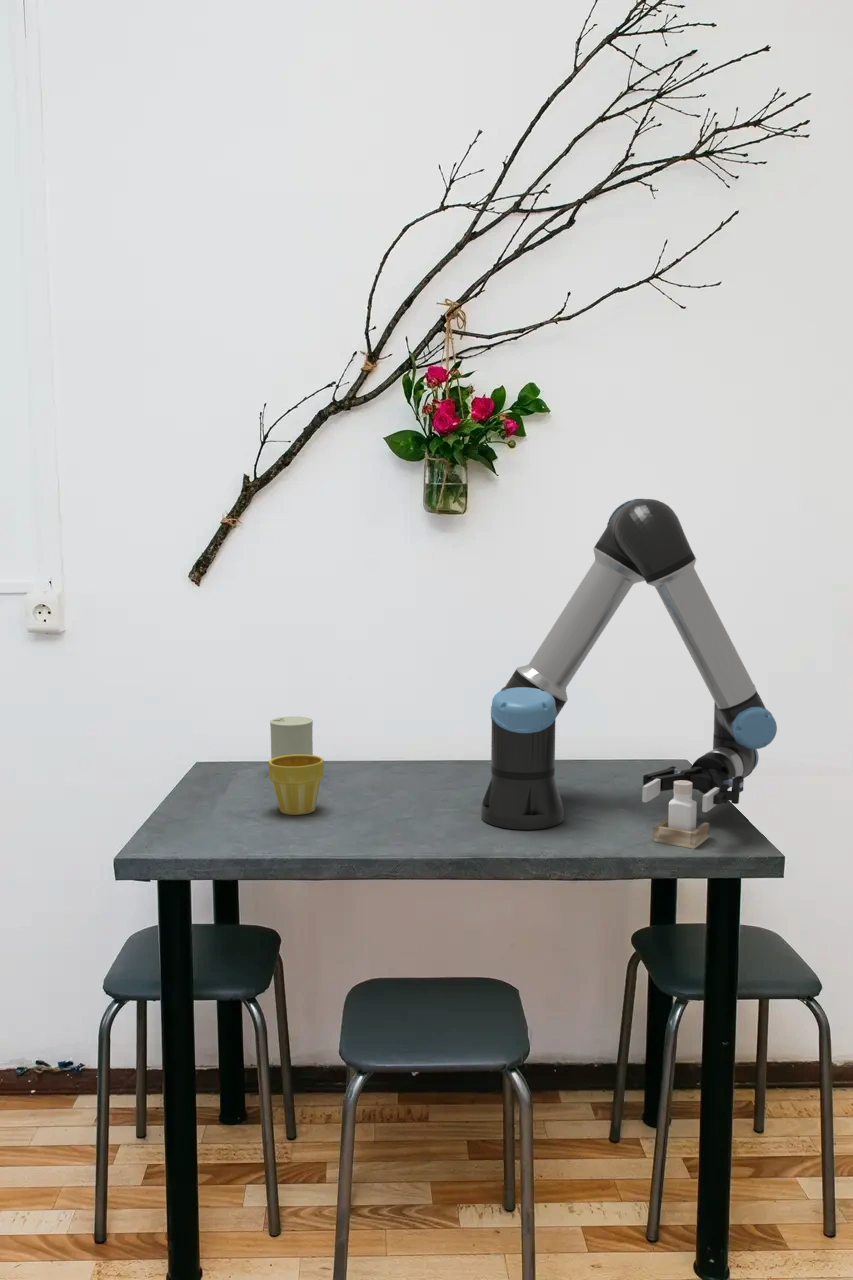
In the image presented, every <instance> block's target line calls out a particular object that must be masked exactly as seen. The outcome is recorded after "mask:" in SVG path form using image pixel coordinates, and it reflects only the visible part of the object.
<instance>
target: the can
mask: <svg viewBox="0 0 853 1280" xmlns="http://www.w3.org/2000/svg"><path fill="white" fill-rule="evenodd" d="M313 722H314V720H313V719H312V718H309V717H306V716H305V717H304V716H282V717H277V718H273V719H271V720H270V721H269V724H270V725H269V726H270V755H271V758H270V760H271V759H273V758H276V757H279V756H285V755H298V754H302V755H314V754H313V749H314V748H313V742H314V741H313V724H314V723H313Z"/></svg>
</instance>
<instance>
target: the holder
mask: <svg viewBox="0 0 853 1280" xmlns="http://www.w3.org/2000/svg"><path fill="white" fill-rule="evenodd" d="M653 830H654V831H653V842H656V843H660V844H666V845H671V846H672V845H673V846H677V847H678V846H679V847H683V848H687V849H693V850H694V849H696V848H697V847H699V846H700V845H702V844H703V843H704V842H705V841H706V840H708V839H709V836H710V835H709V834H710V823H709V822H703V823H702V824H701V825H699V826H698V827H696V829H695V830H694V831H693V832H690V831H684V830H678V829H673V828H668V817H666V818H665V819H663V820H662V821H661V822H659V823H658V824H655V826H654V829H653Z"/></svg>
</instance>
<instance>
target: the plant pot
mask: <svg viewBox="0 0 853 1280" xmlns="http://www.w3.org/2000/svg"><path fill="white" fill-rule="evenodd" d="M324 774H325V761H324V758H323V757H321V756H318V755H314V754H313V755H302V754H298V755H285V756H279V757H276V758H273V759H271V758H270V760H269V761H268V775H269V776H268V778H269V780H270V781H271V782H272V784H273V787H274V792H275V794H276V799H277V804H278V808H279V811H280V813H282V814H285V815H289V816H300V815H307V814H312V813H313V812H315V811H316V807H317V801H318V796H319V795H318V794H319V790H320V784H321V780H322V779H323V777H324V776H325V775H324Z"/></svg>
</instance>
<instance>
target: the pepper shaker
mask: <svg viewBox="0 0 853 1280" xmlns="http://www.w3.org/2000/svg"><path fill="white" fill-rule="evenodd" d="M672 792H673V798H672V799H671V800H670V801H669V802H668V815H667V816H668V817H667V818H668V828H673V829H678V830H684V831H690V832H693V831H694V830H695V829H697V803H698V802H697V801H696V800H695V799H693V789H692V782H690V781H686V780H678V781H674V789H673V791H672Z"/></svg>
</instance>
